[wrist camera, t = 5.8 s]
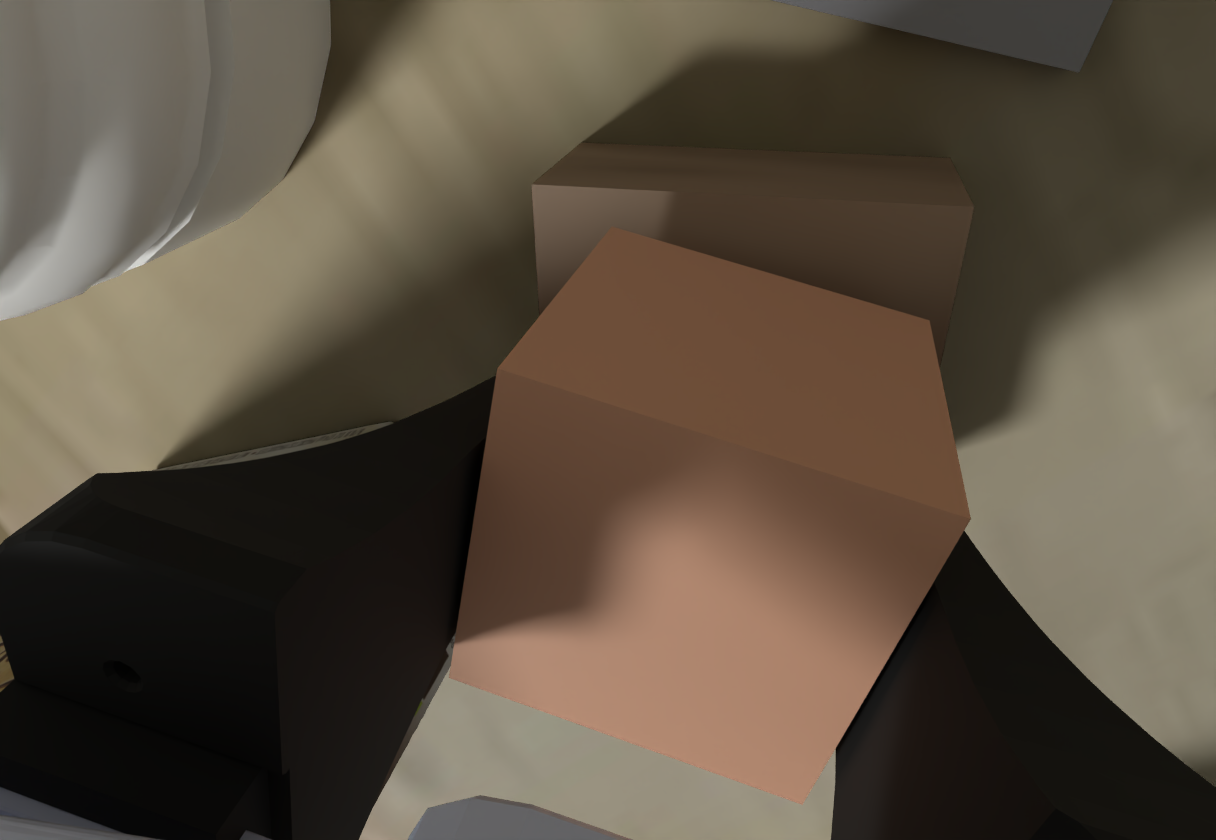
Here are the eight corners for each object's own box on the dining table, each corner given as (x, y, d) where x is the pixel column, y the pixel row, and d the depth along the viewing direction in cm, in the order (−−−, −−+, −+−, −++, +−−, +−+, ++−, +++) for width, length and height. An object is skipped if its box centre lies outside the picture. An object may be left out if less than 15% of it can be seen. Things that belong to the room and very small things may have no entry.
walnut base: (887, 467, 19) (897, 565, 16) (592, 433, 20) (551, 517, 17) (948, 154, 15) (974, 207, 12) (584, 139, 17) (531, 184, 14)
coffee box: (398, 407, 21) (-388, 1255, 8) (494, 600, 24) (37, 1481, 10) (143, 463, 24) (-720, 1122, 11) (253, 626, 27) (-333, 1319, 14)
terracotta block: (815, 562, 15) (801, 803, 11) (556, 477, 16) (448, 677, 11) (929, 320, 12) (970, 519, 8) (611, 226, 13) (497, 368, 9)
